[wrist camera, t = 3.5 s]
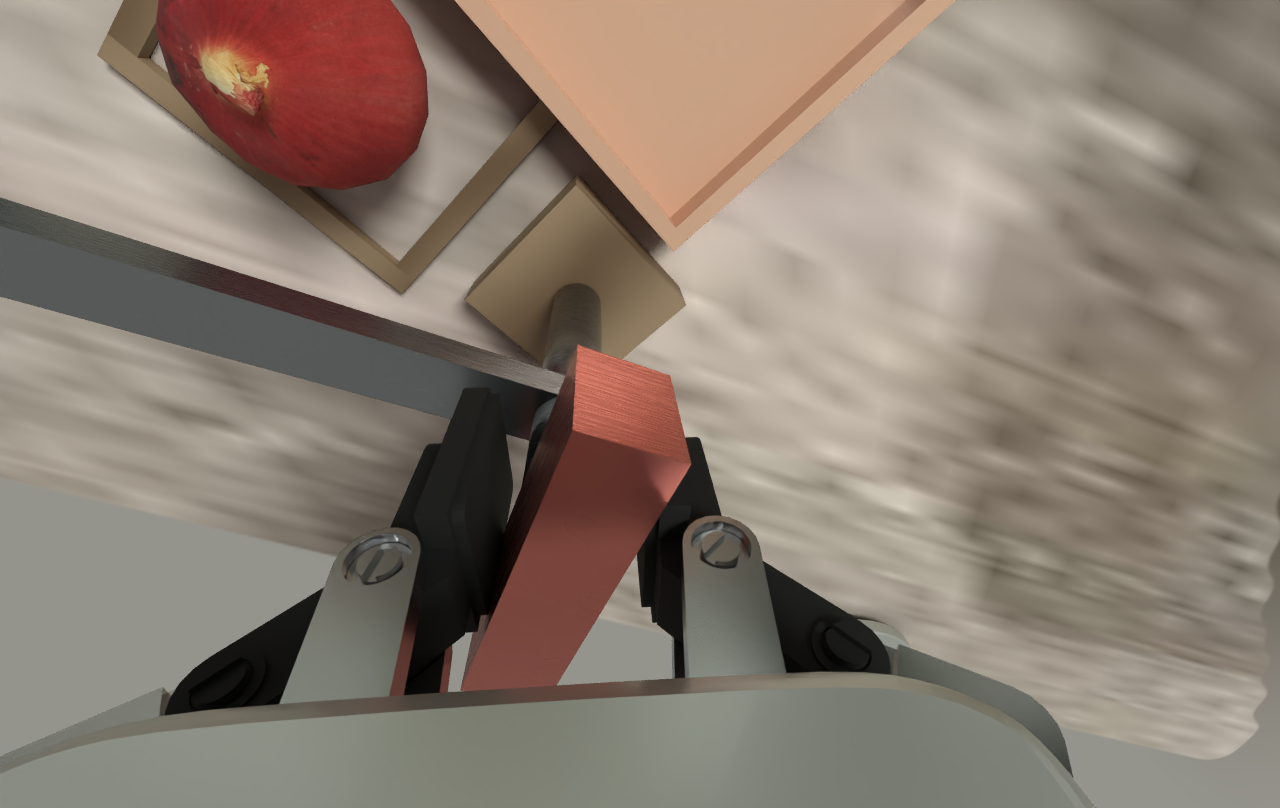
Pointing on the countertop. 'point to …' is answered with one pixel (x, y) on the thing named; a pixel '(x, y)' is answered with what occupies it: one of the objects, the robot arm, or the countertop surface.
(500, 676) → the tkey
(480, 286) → the tan frame with plate
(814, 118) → the dish
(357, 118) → the onion
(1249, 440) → the countertop surface
